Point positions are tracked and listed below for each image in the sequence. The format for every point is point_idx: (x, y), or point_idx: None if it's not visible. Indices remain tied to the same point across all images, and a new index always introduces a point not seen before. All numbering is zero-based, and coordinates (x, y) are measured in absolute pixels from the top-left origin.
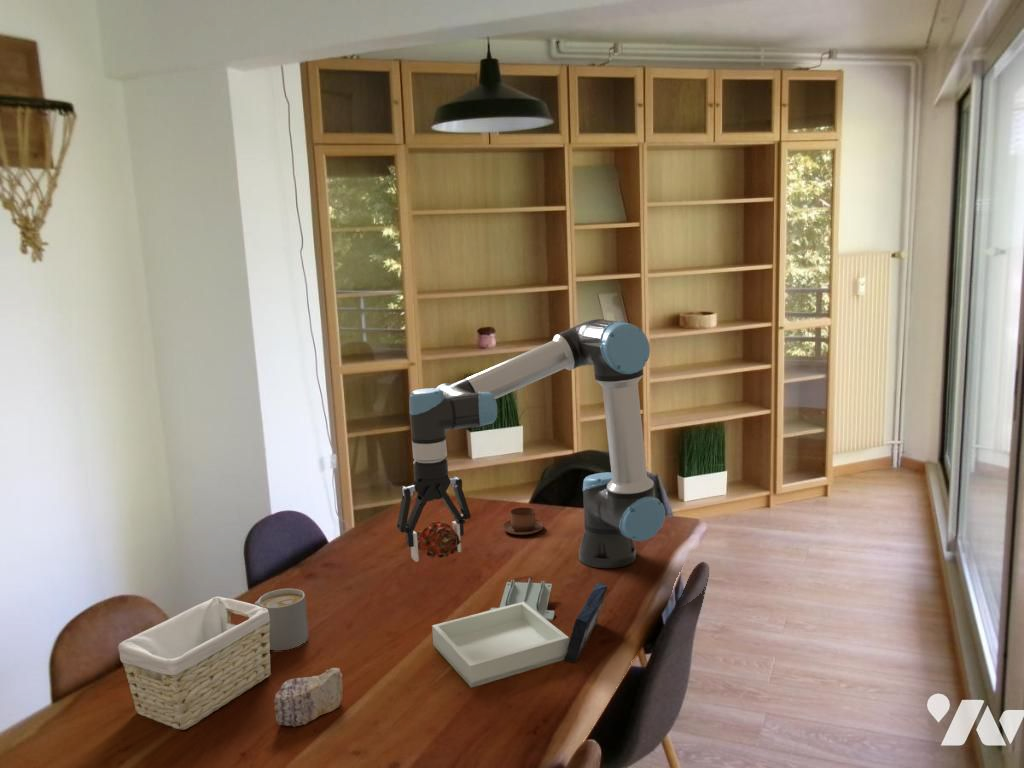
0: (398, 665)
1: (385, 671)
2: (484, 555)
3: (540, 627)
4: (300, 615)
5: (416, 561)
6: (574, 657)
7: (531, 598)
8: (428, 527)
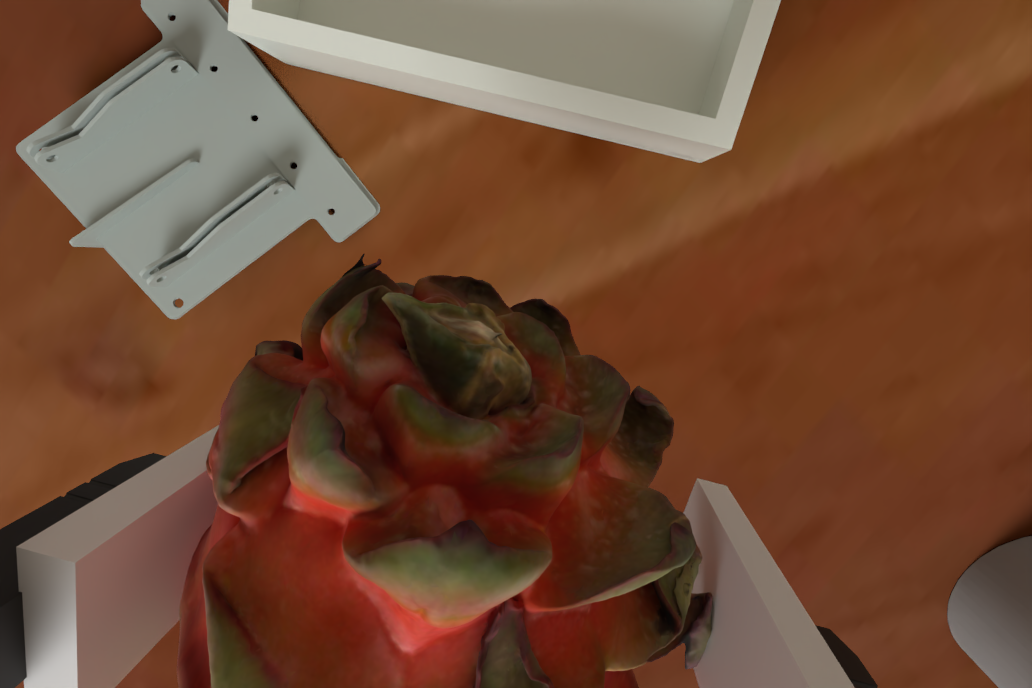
0: (919, 115)
1: (992, 110)
2: None
3: None
4: None
5: (718, 484)
6: None
7: (162, 150)
8: None
